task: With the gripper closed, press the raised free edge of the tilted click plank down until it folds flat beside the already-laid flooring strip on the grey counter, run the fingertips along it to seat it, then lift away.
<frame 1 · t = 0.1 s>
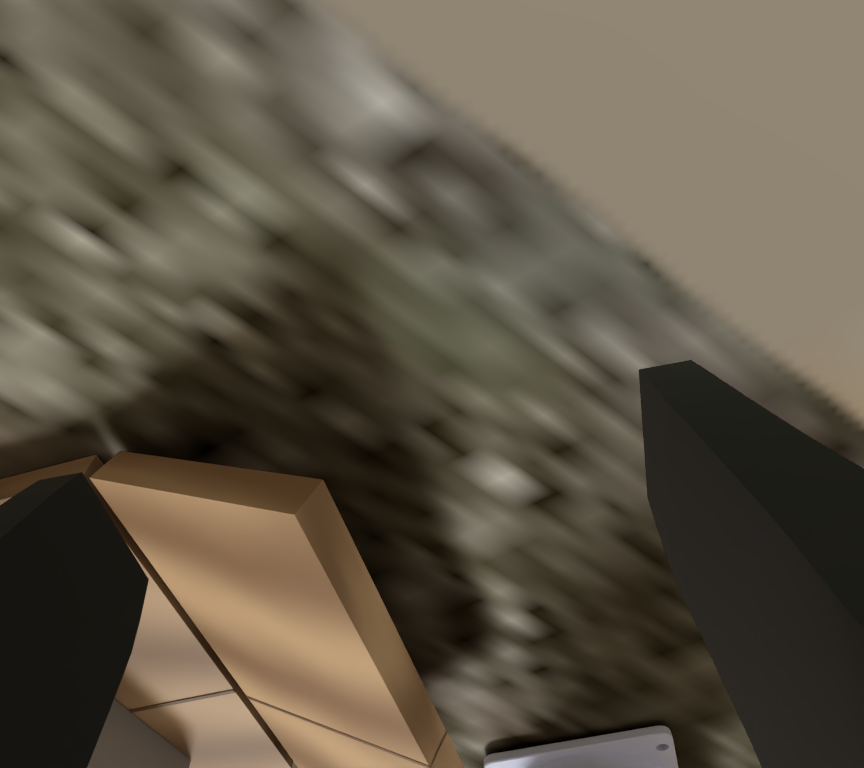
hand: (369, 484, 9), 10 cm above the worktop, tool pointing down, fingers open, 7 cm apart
laid strip: (114, 641, 26), on the worktop
click plank: (307, 660, 23), point 3 cm above the worktop, hinge at 28.0°
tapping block: (103, 725, 27), point 1 cm above the worktop, touching laid strip
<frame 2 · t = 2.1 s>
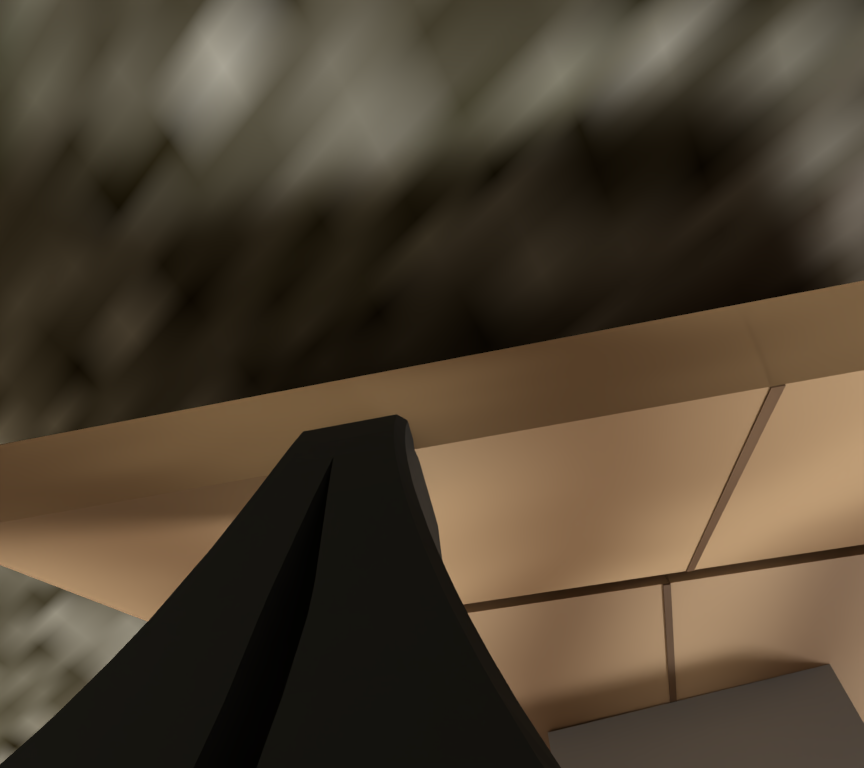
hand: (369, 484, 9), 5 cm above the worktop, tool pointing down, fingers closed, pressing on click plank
laid strip: (563, 665, 18), on the worktop
click plank: (533, 501, 12), point 3 cm above the worktop, hinge at 27.2°, touching gripper
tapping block: (695, 732, 18), point 1 cm above the worktop, touching laid strip
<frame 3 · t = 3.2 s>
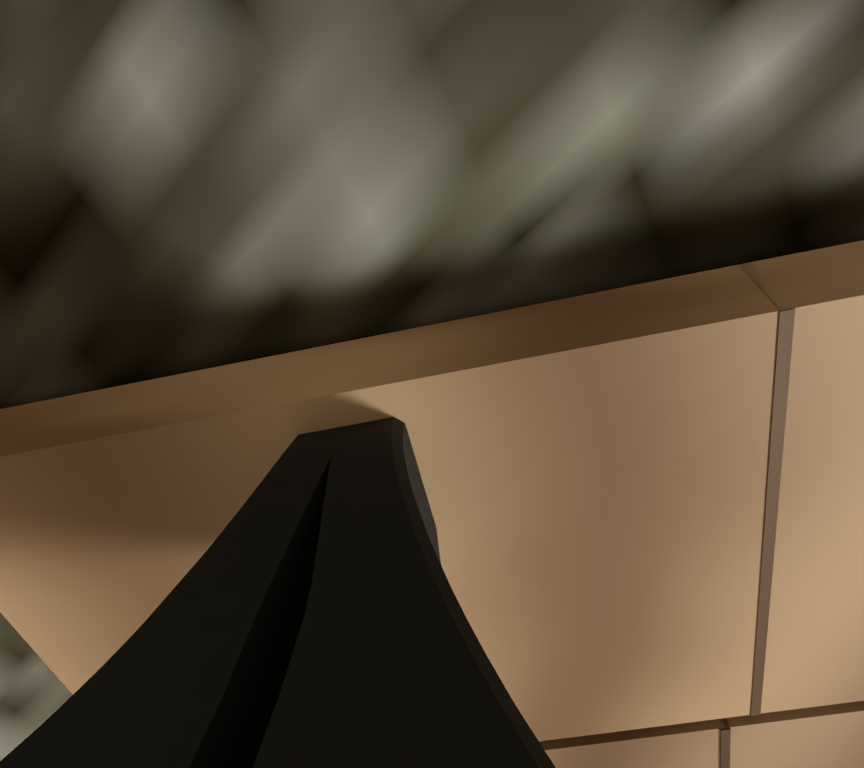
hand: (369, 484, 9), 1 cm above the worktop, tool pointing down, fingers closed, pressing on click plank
click plank: (547, 558, 11), point 1 cm above the worktop, hinge at 2.0°, touching gripper
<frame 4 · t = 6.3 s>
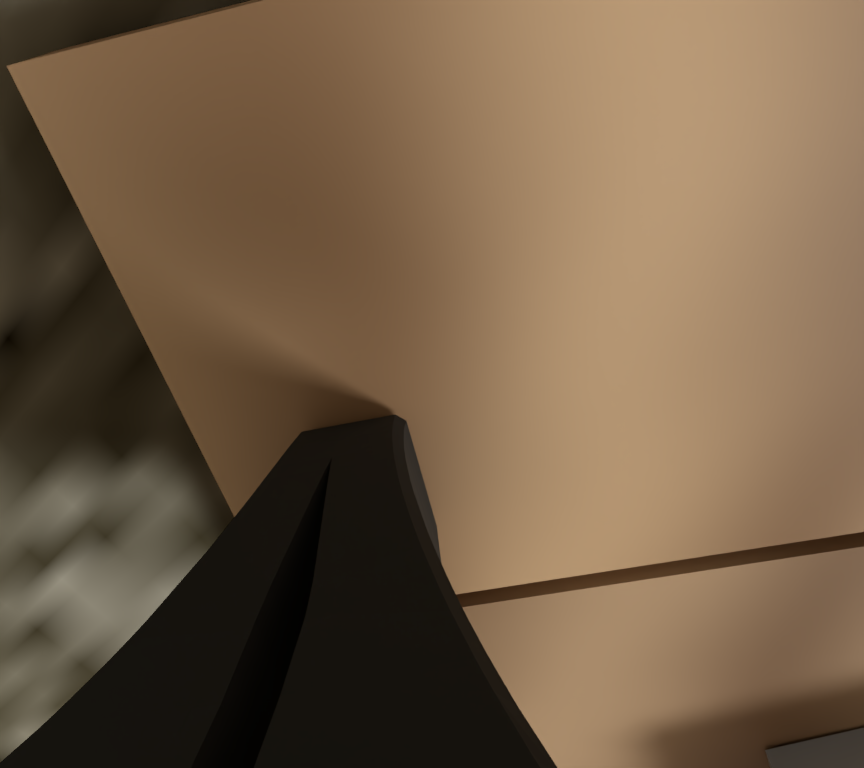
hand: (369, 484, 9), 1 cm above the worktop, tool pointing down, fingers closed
laid strip: (777, 654, 13), on the worktop
click plank: (834, 261, 8), point 1 cm above the worktop, hinge at 0.8°
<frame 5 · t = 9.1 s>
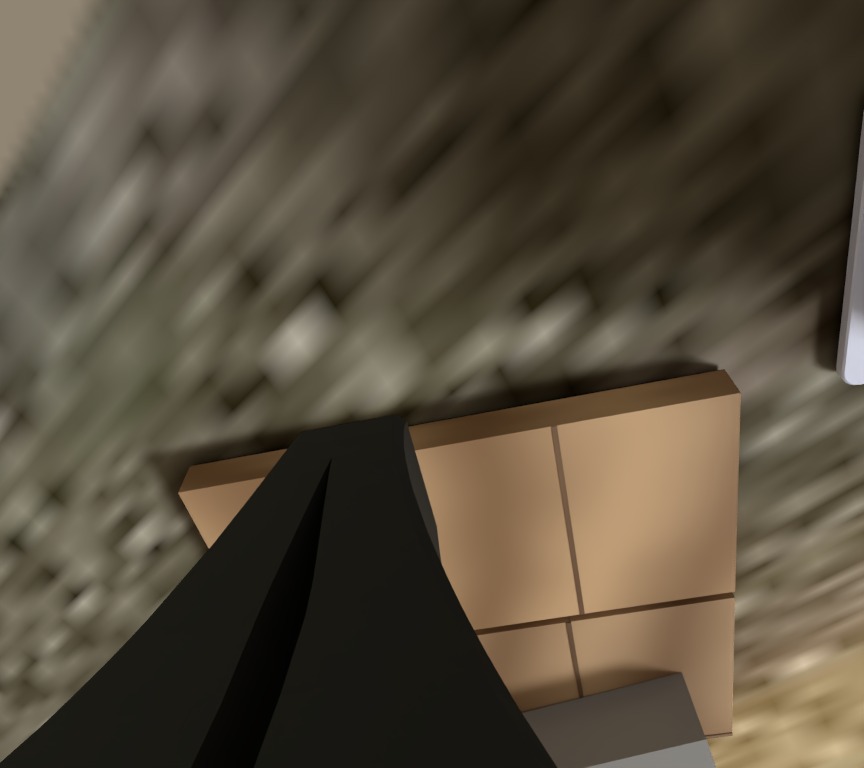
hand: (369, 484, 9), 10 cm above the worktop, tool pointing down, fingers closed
laid strip: (510, 673, 27), on the worktop
click plank: (471, 531, 22), point 1 cm above the worktop, hinge at 0.8°
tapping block: (598, 718, 26), point 1 cm above the worktop, touching laid strip
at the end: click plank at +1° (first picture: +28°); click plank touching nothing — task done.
